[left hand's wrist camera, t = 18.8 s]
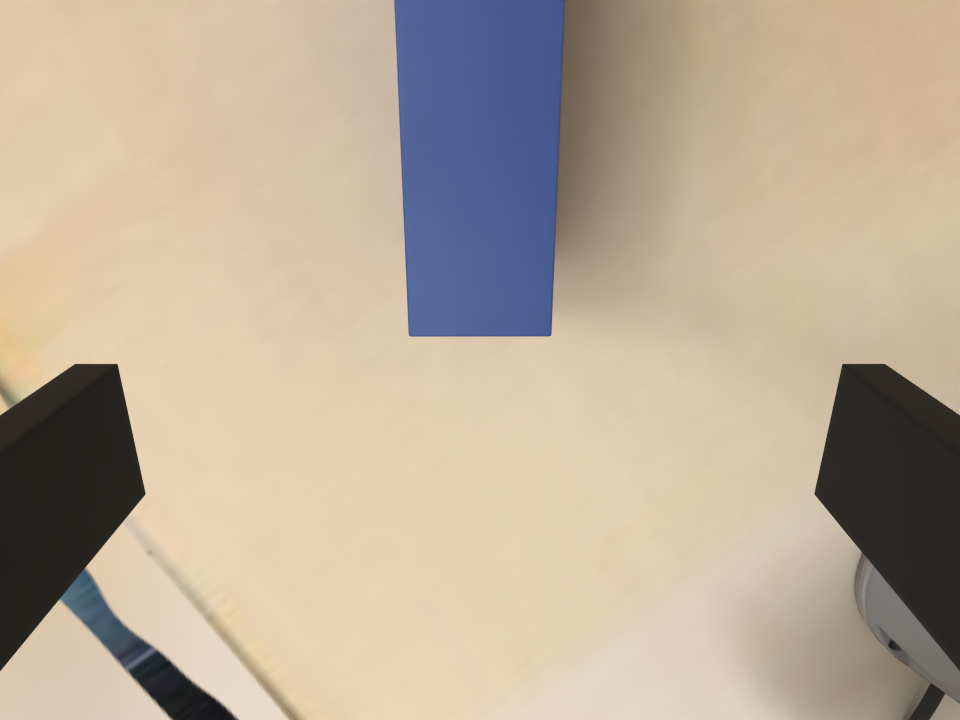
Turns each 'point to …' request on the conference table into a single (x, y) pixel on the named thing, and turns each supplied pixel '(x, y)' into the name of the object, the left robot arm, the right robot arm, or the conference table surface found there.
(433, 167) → the box
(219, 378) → the conference table surface
